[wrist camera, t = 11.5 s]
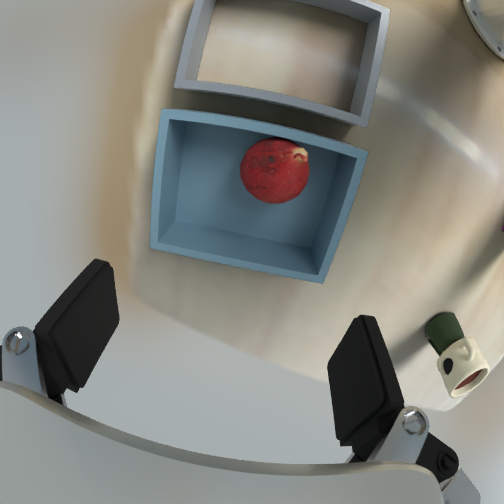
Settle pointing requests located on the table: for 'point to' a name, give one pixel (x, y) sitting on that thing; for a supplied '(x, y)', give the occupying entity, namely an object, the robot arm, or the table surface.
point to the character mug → (456, 355)
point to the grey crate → (348, 3)
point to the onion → (275, 170)
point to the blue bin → (248, 196)
